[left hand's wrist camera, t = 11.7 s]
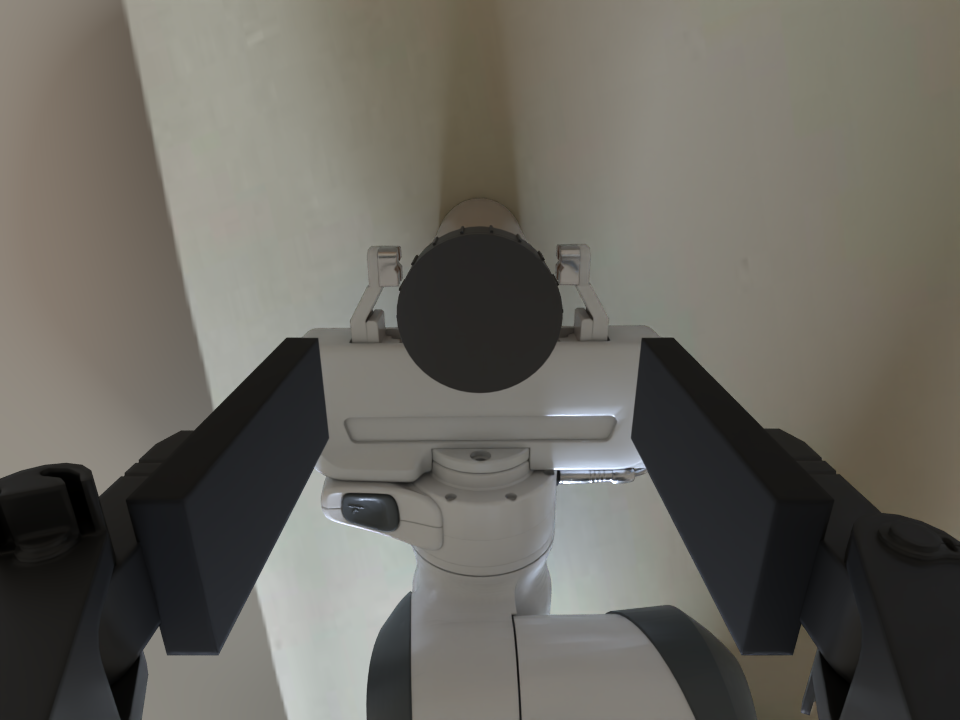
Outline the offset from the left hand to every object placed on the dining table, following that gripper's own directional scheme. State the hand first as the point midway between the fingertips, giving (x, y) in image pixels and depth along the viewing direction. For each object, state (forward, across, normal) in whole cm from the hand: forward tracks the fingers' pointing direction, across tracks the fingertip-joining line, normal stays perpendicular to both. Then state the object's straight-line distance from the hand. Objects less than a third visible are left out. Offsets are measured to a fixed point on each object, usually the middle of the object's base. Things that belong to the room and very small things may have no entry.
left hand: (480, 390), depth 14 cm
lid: (+6, 0, 0) cm, 6 cm away
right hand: (+16, 0, -1) cm, 16 cm away
